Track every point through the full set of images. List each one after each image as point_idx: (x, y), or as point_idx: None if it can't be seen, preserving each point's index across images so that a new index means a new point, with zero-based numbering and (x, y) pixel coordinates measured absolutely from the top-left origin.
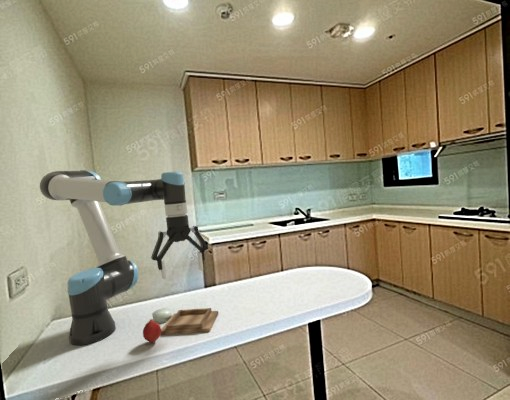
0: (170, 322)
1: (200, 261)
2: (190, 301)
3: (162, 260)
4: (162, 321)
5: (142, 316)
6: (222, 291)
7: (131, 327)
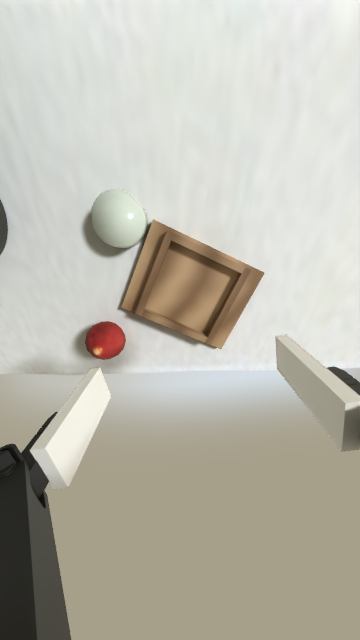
0: (143, 300)
1: (302, 401)
2: (212, 109)
3: (55, 480)
4: (124, 247)
5: (61, 157)
6: (345, 67)
7: (48, 226)
